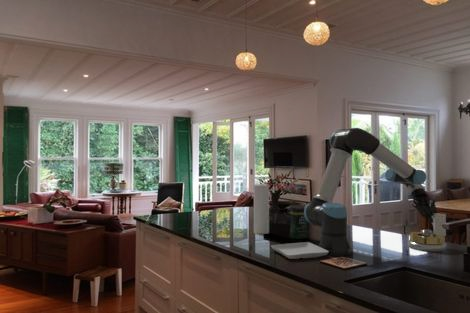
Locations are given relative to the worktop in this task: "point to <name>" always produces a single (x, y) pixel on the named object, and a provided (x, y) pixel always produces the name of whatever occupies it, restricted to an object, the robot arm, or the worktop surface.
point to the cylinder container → (261, 209)
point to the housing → (427, 246)
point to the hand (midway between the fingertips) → (437, 227)
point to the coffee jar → (298, 222)
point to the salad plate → (300, 250)
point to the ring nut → (438, 231)
